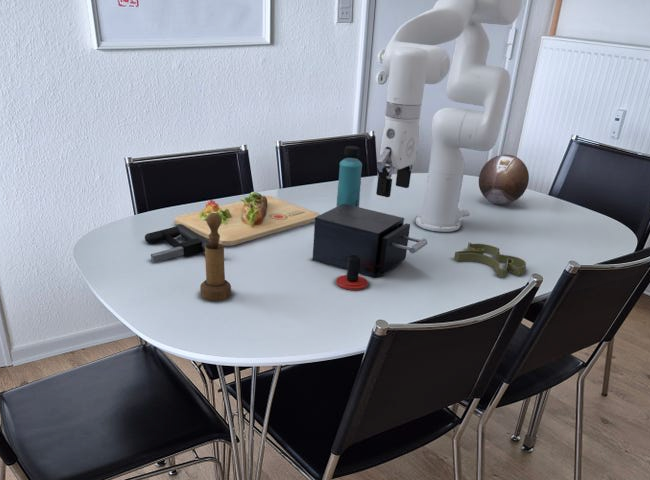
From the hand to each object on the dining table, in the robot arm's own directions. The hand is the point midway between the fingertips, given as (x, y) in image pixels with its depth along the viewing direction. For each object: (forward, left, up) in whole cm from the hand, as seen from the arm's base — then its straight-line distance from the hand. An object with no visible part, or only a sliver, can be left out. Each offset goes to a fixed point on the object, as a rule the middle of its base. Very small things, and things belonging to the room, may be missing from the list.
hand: (392, 191), depth 147 cm
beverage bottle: (-11, -35, -19) cm, 41 cm away
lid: (+12, +5, -19) cm, 23 cm away
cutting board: (+17, -41, -19) cm, 48 cm away
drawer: (+1, -2, -18) cm, 18 cm away
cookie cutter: (-28, +7, -19) cm, 34 cm away
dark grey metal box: (+3, -7, -19) cm, 20 cm away
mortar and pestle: (+42, -1, -19) cm, 47 cm away
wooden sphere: (-65, -31, -19) cm, 74 cm away
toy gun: (+42, -28, -19) cm, 54 cm away
